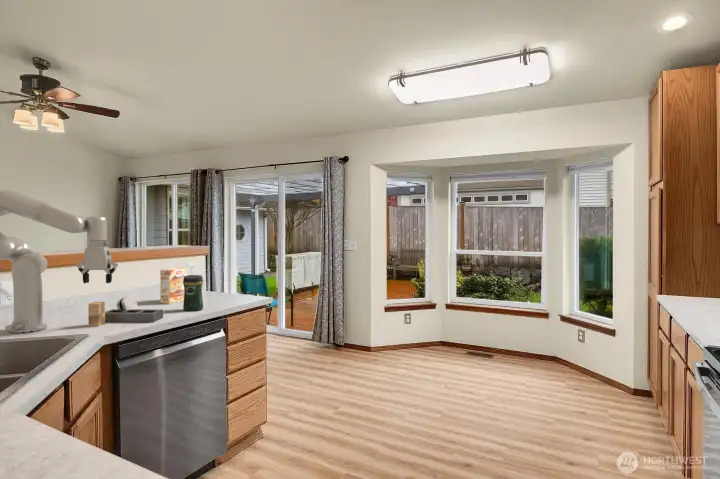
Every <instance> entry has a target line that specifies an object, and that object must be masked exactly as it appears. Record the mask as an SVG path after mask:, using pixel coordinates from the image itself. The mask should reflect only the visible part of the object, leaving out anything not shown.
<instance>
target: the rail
mask: <svg viewBox="0 0 720 479" xmlns="http://www.w3.org/2000/svg"><path fill="white" fill-rule="evenodd" d="M163 318H164V309H159V308H158V309H157V308H156V309H146V308H145V309H143V308H141V309H118V308H116V309H114V308H112V309H110V310H109V309H108V310H105V323H155V322H157V321H159V320H161V319H163Z"/></svg>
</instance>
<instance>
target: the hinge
mask: <svg viewBox="0 0 720 479" xmlns="http://www.w3.org/2000/svg"><path fill="white" fill-rule="evenodd" d="M116 307H117V308H116V309H142V307H141V306H139V305H138V303H137V301H136V299H135V297H134V296H133V295H126V296H124V297H121V298H119V299H118V300H117V302H116Z"/></svg>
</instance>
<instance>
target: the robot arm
mask: <svg viewBox="0 0 720 479" xmlns="http://www.w3.org/2000/svg"><path fill="white" fill-rule="evenodd" d="M9 214H13V215H17V216H20V217H23V218H25V219H28V220H32V221H34V222H37V223H40V224H43V225H46V226H49V227H52V228H54V229H58V230H59V231H64V232H67V233H70V234H78V233H86V247H85V249H84V253H83V260H82V261H80V262H79V263H76V267H77V269H78V271H79V272H80V273H81V275H82V282H83V284H88V283H90V274H89V272H90V271H104V272H106V274H105V283H106V284H111V283H112V281H113V273H115V272H116V270H117V268H118V266H119V264H118V263H116V262H115V261H113V260H112V254H111V250H110V249H111V248H110V247H108V245H109V246H110V245H111V243H110V241H108V236H107V235H108V233H107V232H108V221H107V218H106V217H105V216H93V215H92V216H83V215H82V216H81V215H75V214H71V213H69V212H66V211H62V210H60V209H58V208H55V207H53V206H51V205H50V204H48V203H46V202H44V201H41V200H38V199H36V198H33V197H30V196H27V195H24V194H21V193H20V192H17V191H14V190H10V189H3V190H0V217H2V216H6V215H9ZM7 260H8V261H9V262H11V263H12V264H11V268H10V269H11V277H12V278H11V279H12V285H13V288H12V289H13V290H12V293H13V320H12V321H11V324H8V325H5V327H4V329H5V331H8V332H9V333H12V332H13V334H19V333H20V334H23V333H22V332H25V333H31V332H30V331H33V332H38V330H39V331H42V330H45V329H47V328H48V324H46V323H43V322H44V321H43V318H44V317H43V313H44V312H43V280H42V273H44V272H45V271H46V270H47V268H48V265H49V264H48V259H47V258H46V257H45V255H43V254H42V253H40V252H39V251H38V250H36V249H35V248H33V247H32V246H31V245H30V244H28V243H26V241H24V240H22V239H20V238H18V237H16V236H7V235H6V234H3V233H2V232H0V261H7Z"/></svg>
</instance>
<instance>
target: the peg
mask: <svg viewBox="0 0 720 479" xmlns="http://www.w3.org/2000/svg"><path fill="white" fill-rule="evenodd" d="M87 305H88V313H87V315H88V316H87V317H88V327H101V326H104V325H106V322H105V312H106V302H105V301H93V302H90V303H88V304H87Z"/></svg>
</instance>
